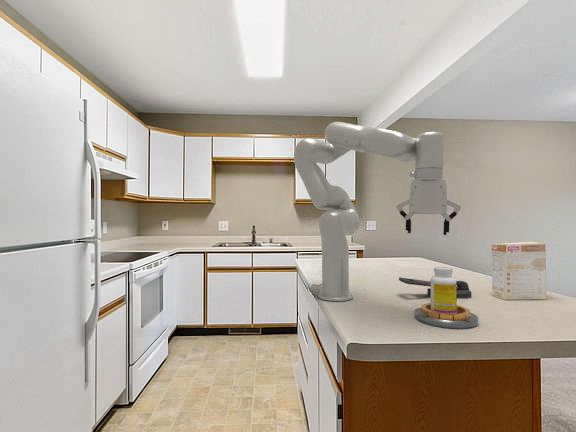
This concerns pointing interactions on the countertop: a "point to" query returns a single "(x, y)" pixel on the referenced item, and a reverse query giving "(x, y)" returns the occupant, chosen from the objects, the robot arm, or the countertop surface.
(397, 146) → the robot arm
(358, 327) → the countertop surface
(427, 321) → the rosette plate
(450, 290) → the supplement bottle
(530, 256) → the coffeecake box
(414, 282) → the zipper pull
